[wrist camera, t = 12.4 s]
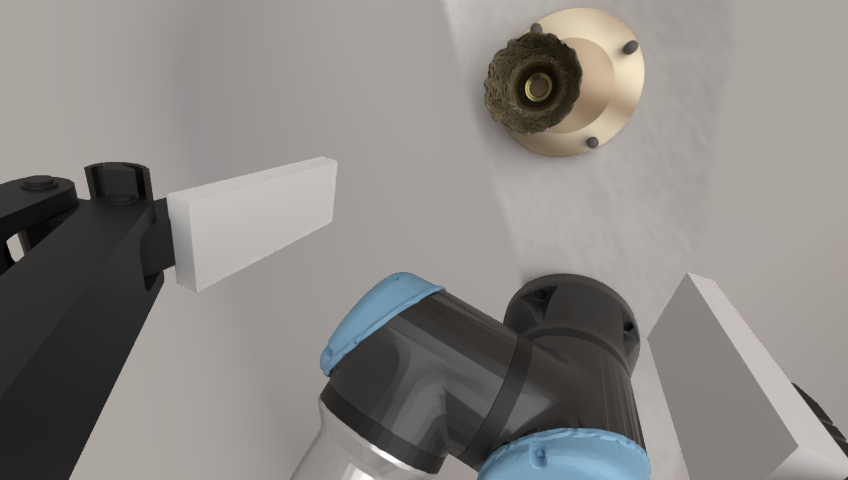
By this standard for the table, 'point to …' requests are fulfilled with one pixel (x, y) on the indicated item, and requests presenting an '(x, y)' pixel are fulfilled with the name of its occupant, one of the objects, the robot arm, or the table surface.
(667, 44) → the table surface
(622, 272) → the table surface
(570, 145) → the seat plate
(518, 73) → the ornate scalloped bell shade
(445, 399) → the robot arm
